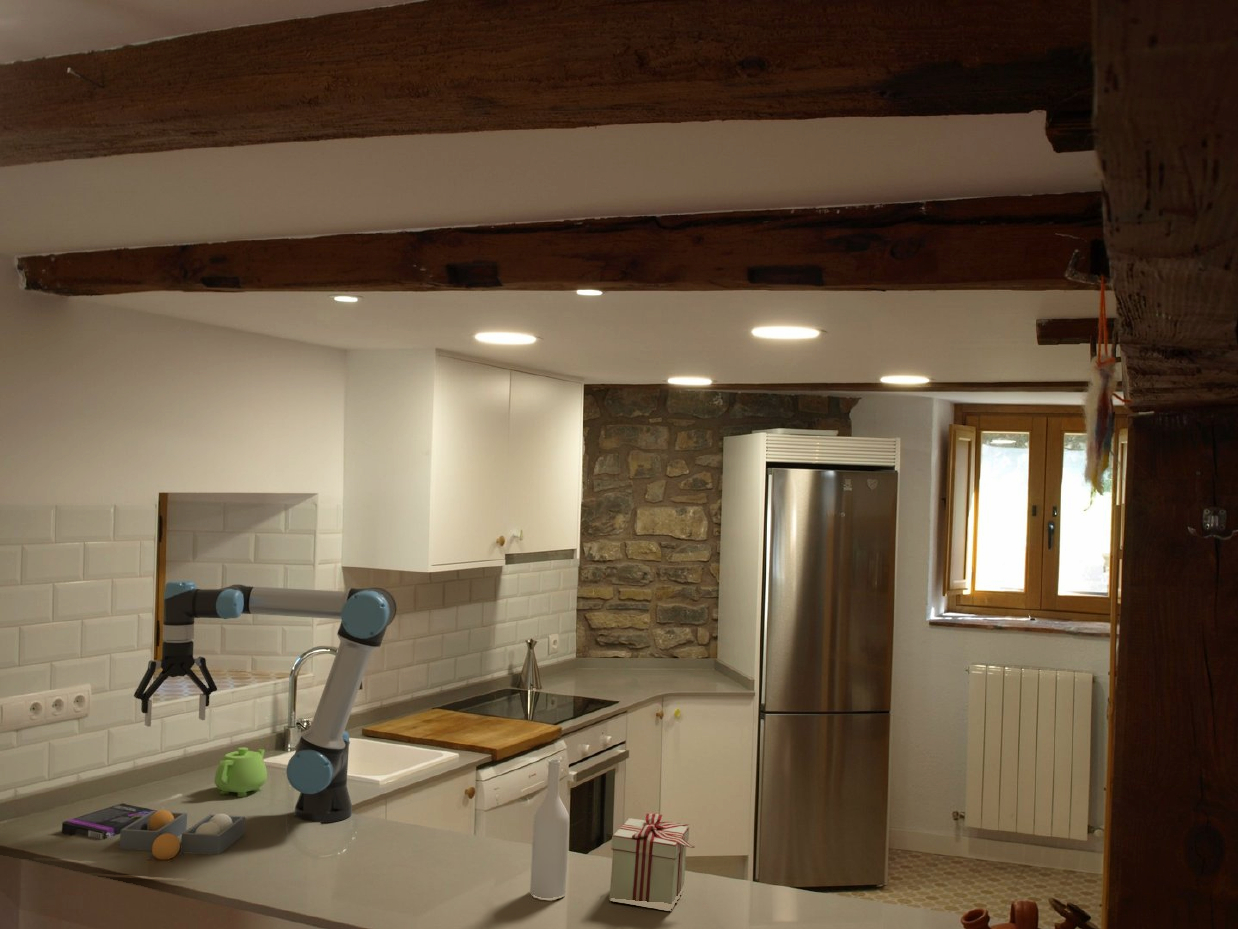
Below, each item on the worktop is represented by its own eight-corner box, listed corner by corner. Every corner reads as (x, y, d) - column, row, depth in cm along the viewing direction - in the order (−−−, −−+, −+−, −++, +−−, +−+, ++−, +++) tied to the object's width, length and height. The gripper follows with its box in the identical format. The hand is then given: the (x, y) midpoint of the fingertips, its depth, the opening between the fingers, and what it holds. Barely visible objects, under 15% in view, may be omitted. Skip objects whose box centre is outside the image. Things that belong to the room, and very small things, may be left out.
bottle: (536, 903, 231) (543, 766, 232) (525, 890, 238) (531, 757, 239) (570, 899, 234) (577, 764, 235) (558, 886, 241) (564, 755, 242)
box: (102, 846, 256) (163, 823, 275) (103, 832, 256) (164, 809, 275) (60, 836, 261) (122, 814, 280) (61, 822, 261) (123, 801, 280)
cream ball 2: (235, 835, 264) (237, 811, 264) (226, 843, 258) (227, 818, 258) (212, 834, 264) (214, 810, 265) (202, 841, 258) (203, 817, 259)
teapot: (243, 780, 316) (245, 738, 316) (281, 786, 312) (283, 743, 312) (197, 797, 297) (200, 752, 297) (237, 803, 293) (240, 758, 293)
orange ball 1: (177, 831, 265) (179, 808, 265) (166, 839, 259) (168, 815, 259) (154, 830, 265) (156, 806, 265) (143, 838, 259) (144, 813, 259)
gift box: (690, 915, 228) (693, 836, 229) (607, 906, 231) (611, 827, 232) (698, 888, 245) (701, 813, 245) (620, 879, 248) (624, 806, 249)
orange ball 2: (183, 856, 249) (185, 830, 250) (171, 865, 243) (173, 839, 244) (158, 854, 250) (160, 829, 250) (146, 863, 244) (148, 837, 244)
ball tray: (243, 836, 265) (245, 816, 265) (205, 867, 243) (206, 845, 243) (145, 830, 266) (146, 810, 267) (98, 860, 244) (99, 838, 244)
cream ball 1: (224, 844, 257) (225, 819, 257) (213, 852, 251) (215, 827, 251) (200, 843, 257) (202, 818, 258) (189, 851, 251) (191, 825, 252)
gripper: (221, 635, 284) (218, 714, 283) (123, 642, 268) (119, 725, 267) (231, 638, 278) (228, 719, 277) (131, 645, 262) (128, 731, 261)
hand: (175, 722), depth 272 cm, fingers open, 13 cm apart
